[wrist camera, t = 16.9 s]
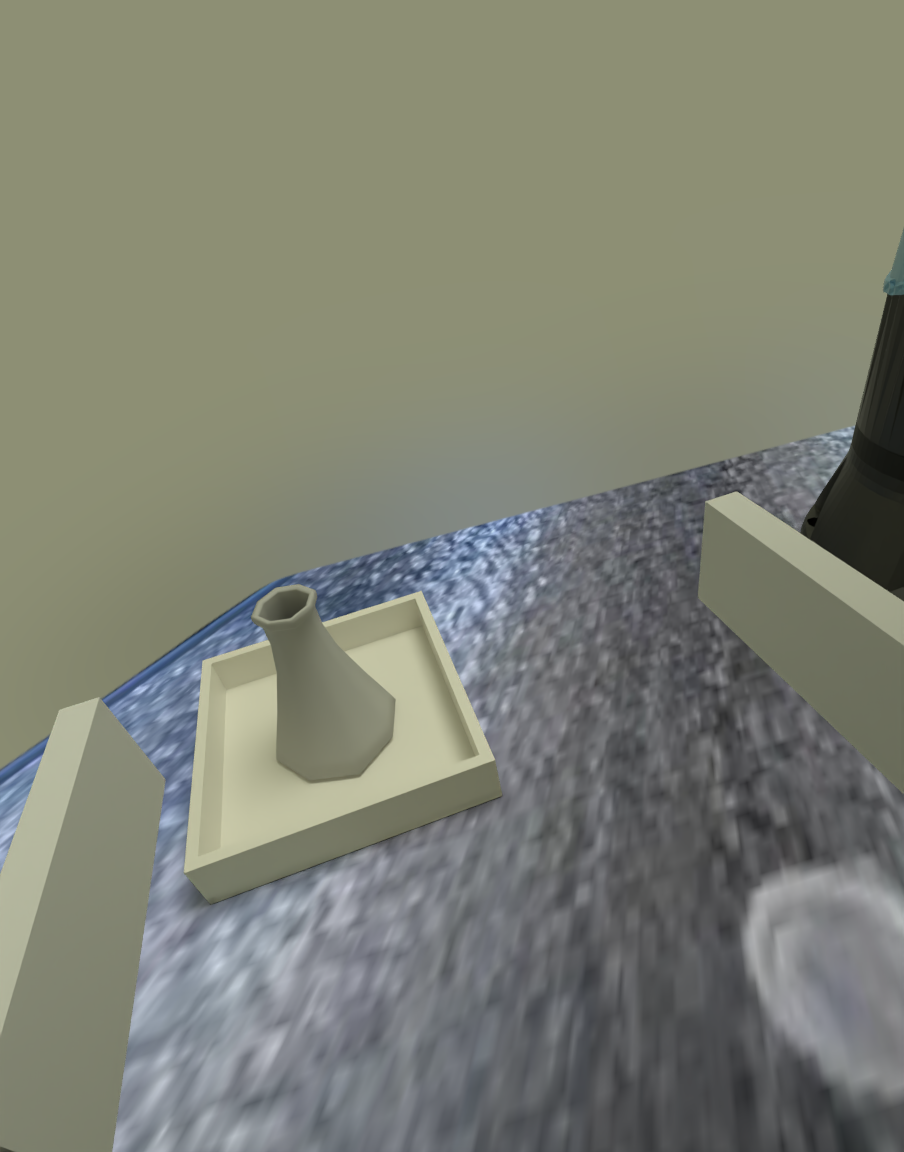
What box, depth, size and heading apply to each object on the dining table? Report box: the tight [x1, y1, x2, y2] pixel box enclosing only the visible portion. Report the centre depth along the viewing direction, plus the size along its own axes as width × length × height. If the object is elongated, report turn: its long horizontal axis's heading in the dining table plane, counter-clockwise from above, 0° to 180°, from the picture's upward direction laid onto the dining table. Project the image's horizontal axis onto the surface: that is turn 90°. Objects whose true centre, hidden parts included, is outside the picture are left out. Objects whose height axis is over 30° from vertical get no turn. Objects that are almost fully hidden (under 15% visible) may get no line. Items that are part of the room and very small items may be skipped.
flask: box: [251, 584, 396, 780], centre depth 33 cm, size 7×7×10 cm
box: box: [184, 591, 502, 905], centre depth 35 cm, size 15×15×3 cm
